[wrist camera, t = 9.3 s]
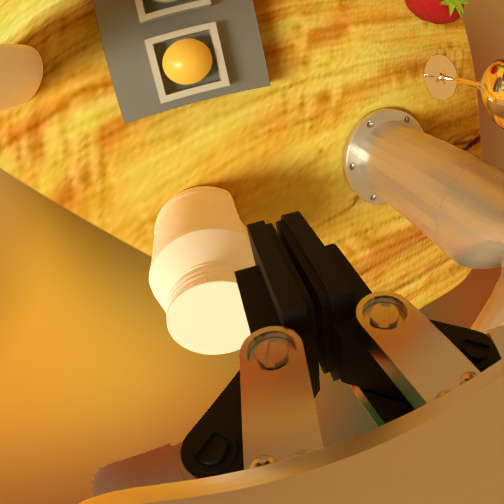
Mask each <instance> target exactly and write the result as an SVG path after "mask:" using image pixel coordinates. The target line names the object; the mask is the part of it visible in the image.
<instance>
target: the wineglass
mask: <svg viewBox="0 0 504 504" xmlns="http://www.w3.org/2000/svg"><path fill="white" fill-rule="evenodd" d="M423 75H424V83H425V86H426V88H427V90H428V92H429V93H430V94H431V95H432V96H433V97H434V98H436V99H439V100H445V99H448V98H449V97H451V96H452V95H453V93H454V91H455V89H456V86H457V83H458V84H462V85H466V86H470V87H474V88H477V89H479V90H480V92H481V96H482V100H483V103H484V105H485V108H486V110H487V112H488V113H489V115H490V116H491V118H492V119H493V120H494V121H495V122H496V123H497V124H498V125H499V126H500V127H501V128H503V129H504V58H502V59H499V60H496V61H495V62H493V63H492V64H490V65H489V67H488V68H487V69H486V70H485V72H484V74H483V76H482V79H481V81H479V82H475V81H471V80H466V79H462V78H457V73H456V70H455V67H454V65H453V63H452V62H451V61H450V60H449V59H448V58H447V57H445V56H443V55H433V56H432V57H430V58H429V59H428V60H427V62H426V64H425V67H424V74H423Z"/></svg>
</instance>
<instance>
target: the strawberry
mask: <svg viewBox="0 0 504 504" xmlns="http://www.w3.org/2000/svg"><path fill="white" fill-rule="evenodd" d="M405 2H406V5H407V7H408V8H409V10H410V11H411V12H413V13H414V14H415V15H416V16H417V17H419V18H421V19H423V20H426V21H429V22H432V23H435V24H446V23H450V22H454V21H456V20H457V19H458V18H459V17H461V19H462V13H463V14H464V11H463V7H464V5H463V4H468V2H467V1H466V0H405ZM464 15H465V14H464ZM462 20H463V19H462Z"/></svg>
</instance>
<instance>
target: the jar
mask: <svg viewBox="0 0 504 504" xmlns="http://www.w3.org/2000/svg"><path fill="white" fill-rule="evenodd" d="M154 235H155V237H154V245H153V254H152V263H151V267H150V273H149V284H150V286H151V289H152V291H153V294H154V296H155V298H156V299H157V300H158V302H159V303H160V305H161V306H162V308H163V309H164V310H165V312H166V316H167V327H168V330H169V332H170V334H171V336H172V337H173V339H174V340H175V341H176V342H177V343H178V344H180V345H181V346H183V347H184V348H186V349H188V350H191V351H193V352H197V353H201V354H211V355H213V354H225V353H229V352H233V351H236V350H239V349H241V346H242V344H243V342H244V340H245V339H246V338H247V337H248V336H249V335H250V334H251V333H250V330H249V326H248V322H247V319H246V315H245V311H244V307H243V304H242V300H241V296H240V292H239V289H238V285H237V281H236V277H235V273H234V271H238V270H241V269H245V268H249V267H252V266H256V265H255V261H254V257H253V252H252V248H251V244H250V240H249V235H248V231H247V227H246V226H245V225H244V224H243V223H242V221H241V220H240V218H239V215H238V213H237V210H236V207H235V203H234V200H233V198H232V196H231V194H230V192H229V191H227V190H225V189H222V188H218V187H213V186H198V187H193V188H189V189H186V190H184V191H182V192H180V193H178V194H176V195H175V196H173V197H172V198H171V199H170V200H169V201H168V202H167V203H166V204H165V205H164V206H163V208H162V209H161V211H160V213H159V215H158V217H157V220H156V224H155V230H154Z"/></svg>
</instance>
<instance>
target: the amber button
mask: <svg viewBox="0 0 504 504" xmlns="http://www.w3.org/2000/svg"><path fill="white" fill-rule="evenodd" d="M162 64H163V69H164V72H165V74H166V75H167V77H168V78H169V79H171V80H172V81H174V82H176V83H179V84H185V85H187V84H193V83H196V82H198V81H200V80H202V79H203V78H204V77H205V76H206V75H207V74H208V73H209V71H210V69H211V66H212V55H211V52H210V50H209V48H208V47H207V46H206V45H205V44H204V43H203V42H201V41H199V40H196V39H182V40H179V41H176V42H175V43H173V44H172V45H171V46H170V47H169V48H168V49H167V50H166V52H165V54H164V56H163V61H162Z"/></svg>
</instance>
